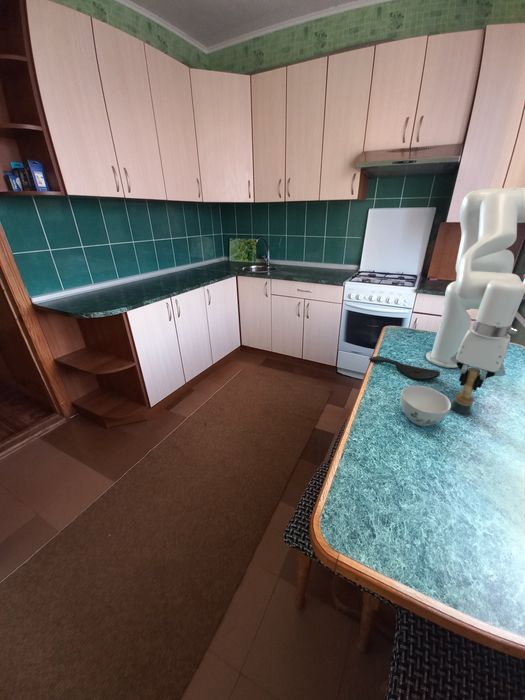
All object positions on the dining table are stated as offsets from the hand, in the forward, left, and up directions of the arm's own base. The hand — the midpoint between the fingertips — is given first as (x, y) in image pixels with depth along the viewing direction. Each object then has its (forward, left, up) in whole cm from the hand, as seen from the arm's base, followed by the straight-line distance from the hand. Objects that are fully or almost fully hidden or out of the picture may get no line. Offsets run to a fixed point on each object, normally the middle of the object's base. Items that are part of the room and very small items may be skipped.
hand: (468, 385), depth 84 cm
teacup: (+8, -11, -9) cm, 17 cm away
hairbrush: (-19, -17, -9) cm, 27 cm away
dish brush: (0, 0, -9) cm, 9 cm away
